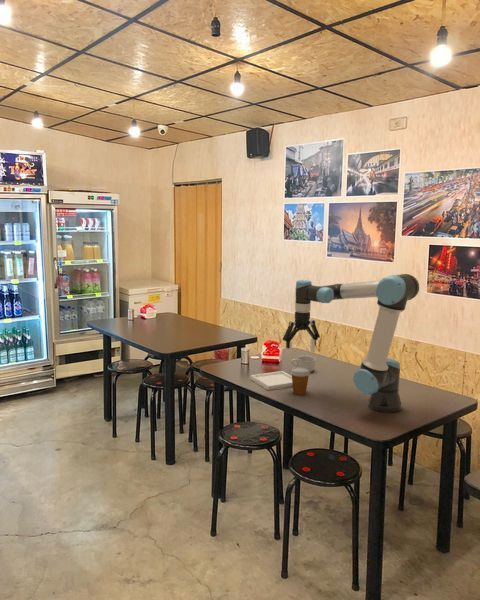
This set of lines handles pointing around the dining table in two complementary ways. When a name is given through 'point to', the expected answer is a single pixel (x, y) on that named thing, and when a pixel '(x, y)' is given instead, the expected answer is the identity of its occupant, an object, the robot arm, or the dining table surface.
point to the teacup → (305, 362)
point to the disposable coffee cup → (300, 380)
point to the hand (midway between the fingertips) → (300, 353)
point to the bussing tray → (273, 380)
